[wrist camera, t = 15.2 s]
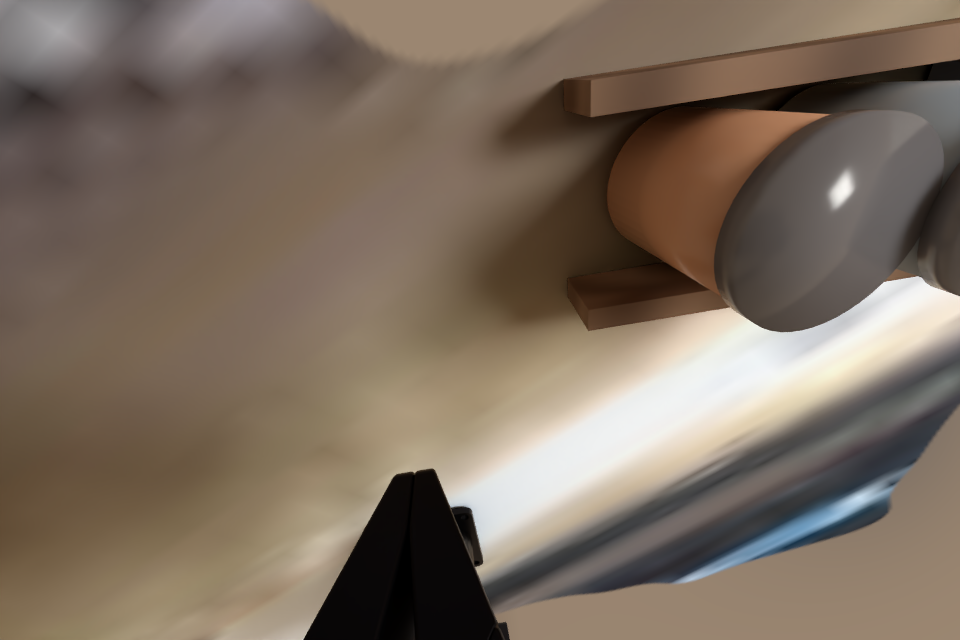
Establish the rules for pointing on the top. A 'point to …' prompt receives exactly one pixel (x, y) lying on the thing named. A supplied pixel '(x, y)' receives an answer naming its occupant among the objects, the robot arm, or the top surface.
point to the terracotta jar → (778, 203)
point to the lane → (716, 76)
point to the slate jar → (956, 118)
